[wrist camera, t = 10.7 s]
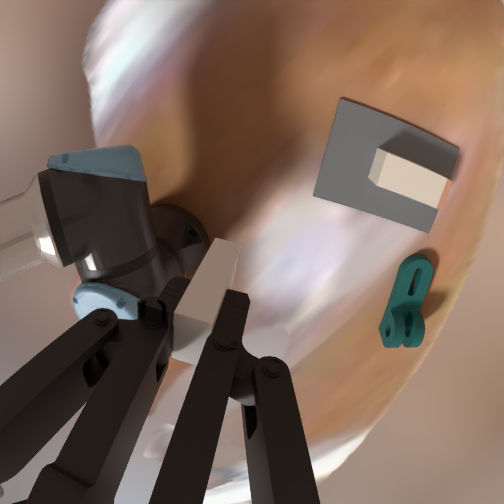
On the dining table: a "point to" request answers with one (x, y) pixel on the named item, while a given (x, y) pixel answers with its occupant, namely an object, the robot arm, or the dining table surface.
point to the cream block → (409, 179)
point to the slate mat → (361, 159)
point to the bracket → (407, 304)
